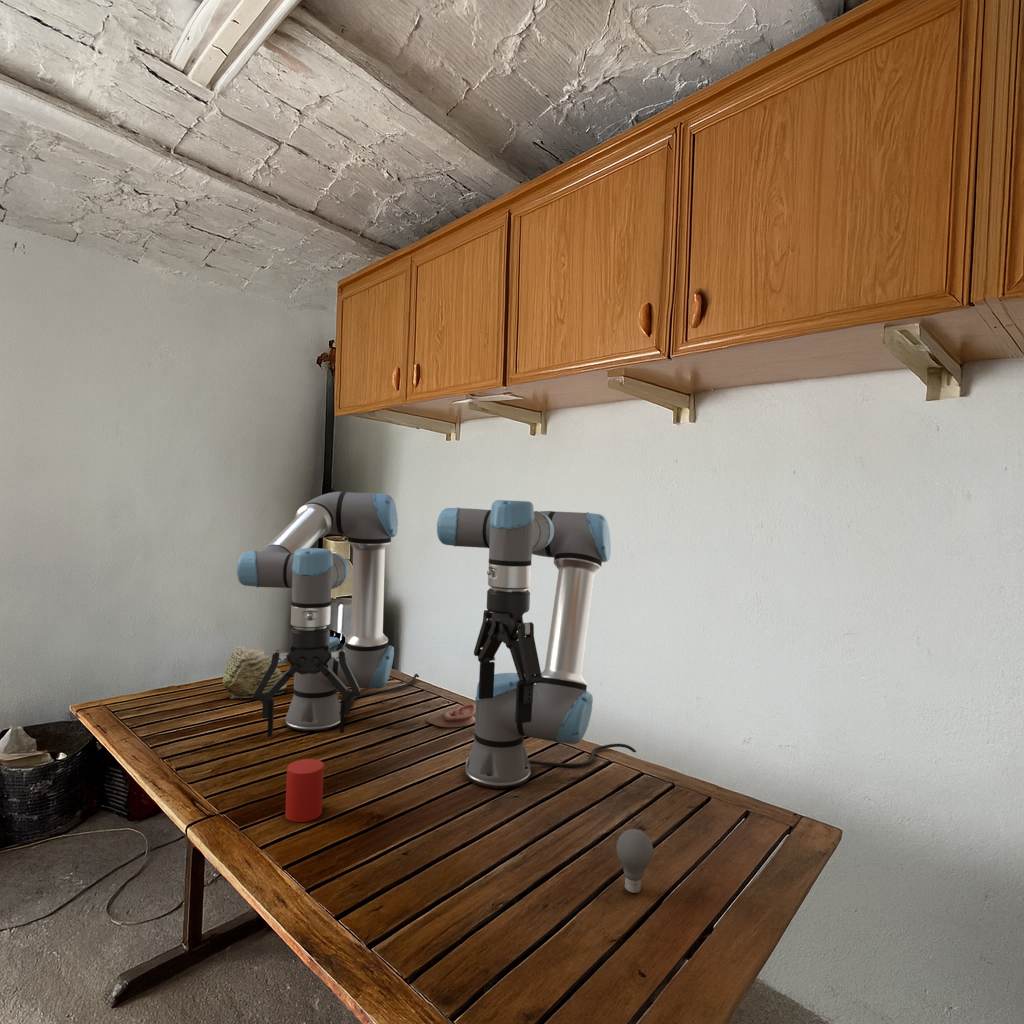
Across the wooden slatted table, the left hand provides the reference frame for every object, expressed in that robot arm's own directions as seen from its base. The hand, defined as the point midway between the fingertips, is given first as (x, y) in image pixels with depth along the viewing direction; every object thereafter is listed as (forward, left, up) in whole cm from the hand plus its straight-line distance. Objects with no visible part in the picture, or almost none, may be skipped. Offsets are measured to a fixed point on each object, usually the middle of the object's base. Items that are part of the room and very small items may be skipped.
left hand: (306, 732), depth 126 cm
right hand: (-12, +40, +11) cm, 44 cm away
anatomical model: (-59, -16, -16) cm, 63 cm away
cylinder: (0, 0, -16) cm, 16 cm away
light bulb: (-22, +62, -16) cm, 67 cm away
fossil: (-31, -75, -16) cm, 83 cm away
